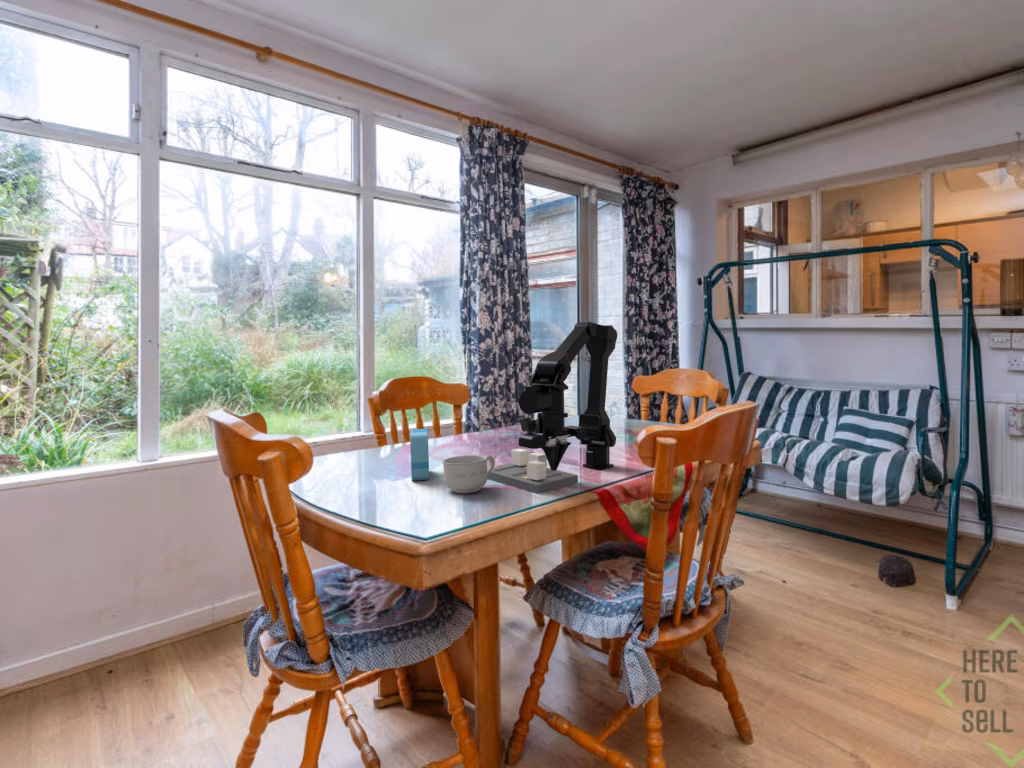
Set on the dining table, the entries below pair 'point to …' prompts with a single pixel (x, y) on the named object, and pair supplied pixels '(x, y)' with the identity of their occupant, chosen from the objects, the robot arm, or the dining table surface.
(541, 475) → the tab
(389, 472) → the dining table surface
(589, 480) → the dining table surface
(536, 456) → the tab middle
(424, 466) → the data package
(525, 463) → the tab
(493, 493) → the dining table surface
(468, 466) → the teacup
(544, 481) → the switch panel
